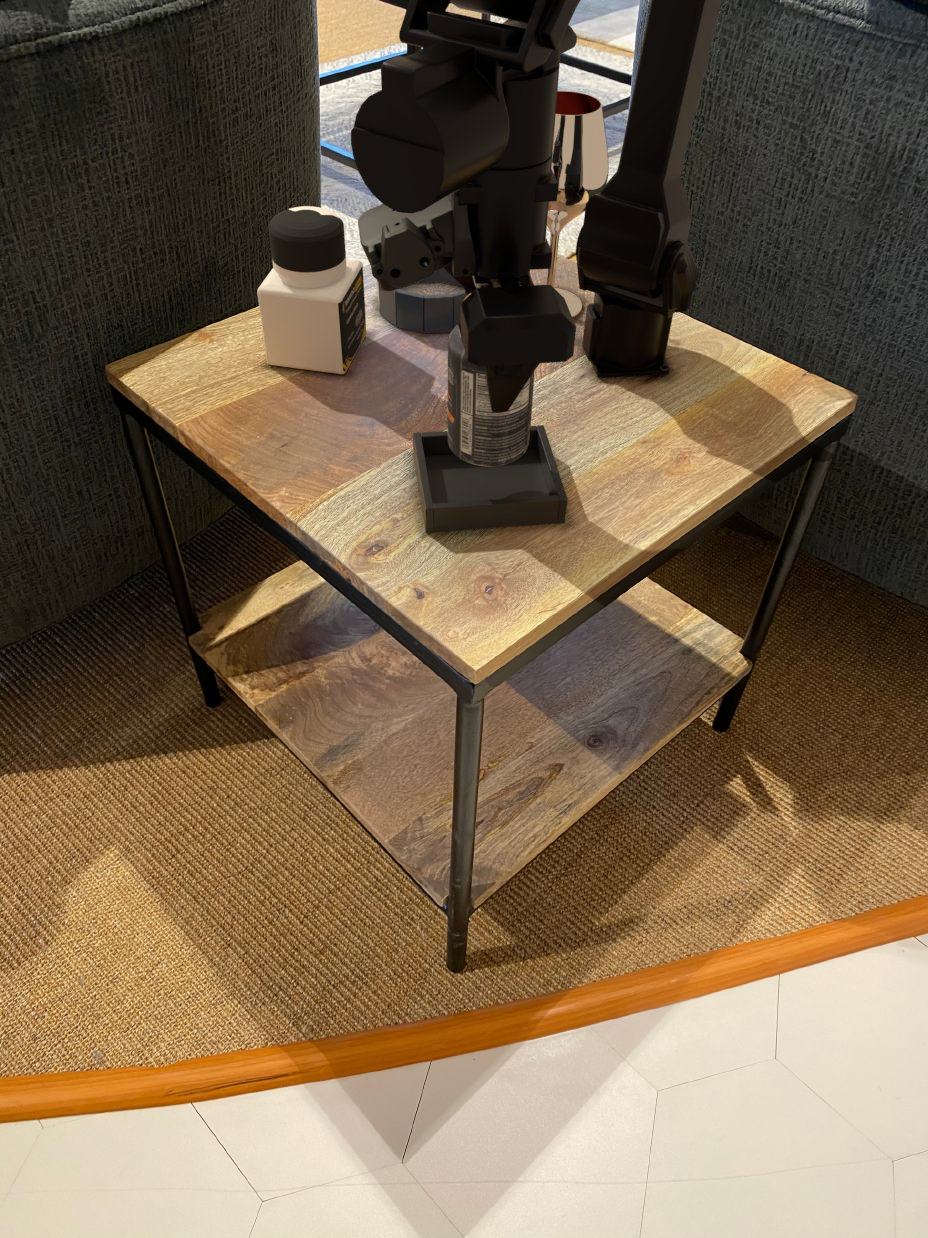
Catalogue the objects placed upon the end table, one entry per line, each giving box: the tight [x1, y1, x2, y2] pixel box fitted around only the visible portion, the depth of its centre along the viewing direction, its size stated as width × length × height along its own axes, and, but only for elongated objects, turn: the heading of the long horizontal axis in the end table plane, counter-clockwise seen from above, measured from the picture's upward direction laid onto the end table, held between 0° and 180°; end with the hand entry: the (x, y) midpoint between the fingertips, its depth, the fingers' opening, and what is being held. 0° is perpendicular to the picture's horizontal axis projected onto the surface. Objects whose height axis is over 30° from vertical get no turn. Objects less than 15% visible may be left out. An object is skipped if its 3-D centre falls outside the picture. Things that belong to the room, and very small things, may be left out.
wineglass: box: [545, 90, 609, 319], centre depth 87 cm, size 8×8×18 cm
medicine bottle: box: [257, 205, 367, 375], centre depth 83 cm, size 7×7×12 cm
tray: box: [412, 424, 569, 534], centre depth 73 cm, size 10×9×2 cm
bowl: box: [376, 267, 466, 334], centre depth 92 cm, size 10×10×4 cm
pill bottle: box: [446, 293, 536, 467], centre depth 67 cm, size 6×6×11 cm
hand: (492, 384), depth 68 cm, fingers closed on pill bottle, 6 cm apart
